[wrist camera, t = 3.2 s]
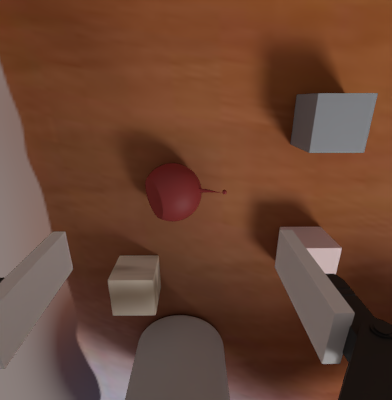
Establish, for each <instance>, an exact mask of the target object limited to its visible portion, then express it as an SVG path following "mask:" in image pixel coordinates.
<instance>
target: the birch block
mask: <svg viewBox="0 0 392 400" xmlns="http://www.w3.org/2000/svg"><path fill="white" fill-rule="evenodd" d="M108 286H109V293H110V300H111V306H112V313H113V316H147V315H156V312H157V306H158V300H159V295H160V289H161V281H160V266H159V255H126V256H119V258H118V260H117V262H116V264H115V266H114V268H113V270H112V272H111V274H110V277H109V279H108Z"/></svg>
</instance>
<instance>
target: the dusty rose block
mask: <svg viewBox="0 0 392 400" xmlns="http://www.w3.org/2000/svg"><path fill="white" fill-rule="evenodd" d="M280 230H293V232H294V233H295V234H296V236H297V237H298V238H299V240H300V241H301V242H302V244H303V245H304V246H305V248H306V249H307V250H308V252H309V253H310V254H311V255H312V257H313V258H314V259H315V261H316V262H317V263H318V265H319V266H320V267H321V269H322V270H323V271H324V273H325V274H336V272H337V267H338V263H339V259H340V254H341V250H342V248H341V247H340V246H339V245H338V244H337V243H336V242H335V241H334V240H333V239H332V238H331V237H330V236H329V235H328V234H327V233H326V232H325V231H324V230H323V229H322V228H321V227H280V229H279V232H280ZM278 239H279V237H278ZM277 246H278V245H277ZM276 254H277V253H276Z"/></svg>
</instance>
